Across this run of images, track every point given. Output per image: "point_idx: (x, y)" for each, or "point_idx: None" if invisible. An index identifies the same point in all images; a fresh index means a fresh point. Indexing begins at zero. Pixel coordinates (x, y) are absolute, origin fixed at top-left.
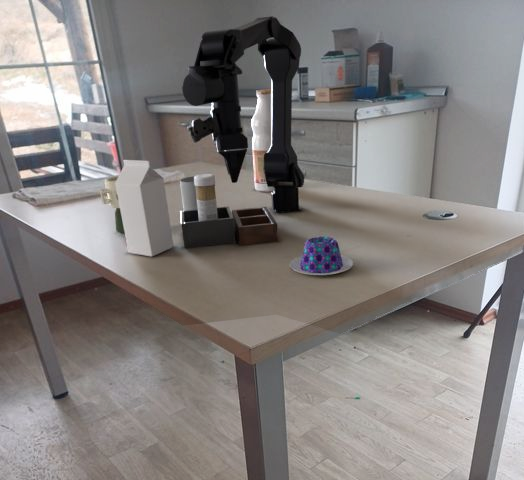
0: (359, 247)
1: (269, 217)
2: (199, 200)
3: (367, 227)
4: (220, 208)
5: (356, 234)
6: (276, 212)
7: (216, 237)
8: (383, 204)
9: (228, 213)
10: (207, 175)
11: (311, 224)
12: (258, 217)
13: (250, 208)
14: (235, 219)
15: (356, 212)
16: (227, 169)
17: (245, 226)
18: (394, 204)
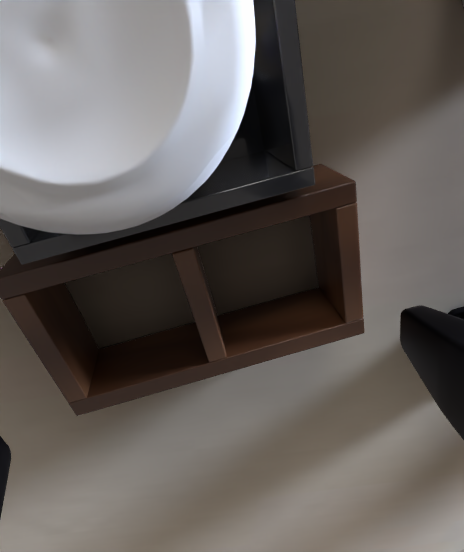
0: (51, 534)
1: (175, 375)
2: None
3: (225, 525)
4: (289, 133)
5: (165, 516)
6: (452, 310)
7: None
8: (417, 525)
9: None
10: (67, 117)
11: (280, 421)
12: (198, 328)
13: (355, 273)
14: (155, 235)
15: (368, 492)
16: (438, 336)
17: (14, 308)
18: (407, 540)
